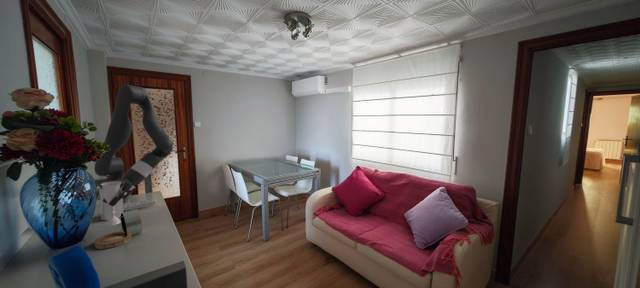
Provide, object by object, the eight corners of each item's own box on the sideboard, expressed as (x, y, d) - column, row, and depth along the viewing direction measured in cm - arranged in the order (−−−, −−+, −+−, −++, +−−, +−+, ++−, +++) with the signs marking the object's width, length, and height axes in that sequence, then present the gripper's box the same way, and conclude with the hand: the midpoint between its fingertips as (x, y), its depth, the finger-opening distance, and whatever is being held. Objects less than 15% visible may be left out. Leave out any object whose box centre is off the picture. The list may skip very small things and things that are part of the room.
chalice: (99, 224, 103) (97, 183, 101) (118, 218, 109) (116, 180, 107) (108, 227, 99) (106, 186, 98) (127, 222, 106) (125, 182, 104)
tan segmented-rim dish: (90, 243, 103) (90, 238, 102) (124, 233, 113) (124, 228, 113) (101, 251, 96) (100, 246, 96) (135, 240, 107) (135, 235, 107)
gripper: (125, 166, 112) (93, 196, 103) (138, 169, 105) (105, 202, 96) (138, 175, 117) (109, 204, 108) (152, 179, 110) (122, 211, 101)
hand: (107, 203), depth 102 cm, fingers closed on chalice, 6 cm apart
